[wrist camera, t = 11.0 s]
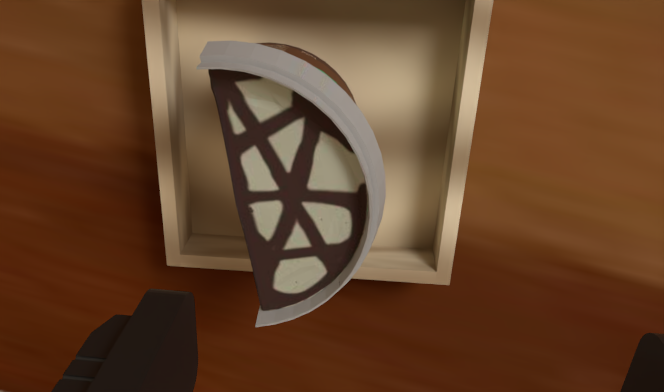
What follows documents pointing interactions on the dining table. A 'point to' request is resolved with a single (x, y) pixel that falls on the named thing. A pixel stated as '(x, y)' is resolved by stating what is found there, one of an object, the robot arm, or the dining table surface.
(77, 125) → the dining table surface
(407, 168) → the whitewashed wooden tray
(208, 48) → the food container
